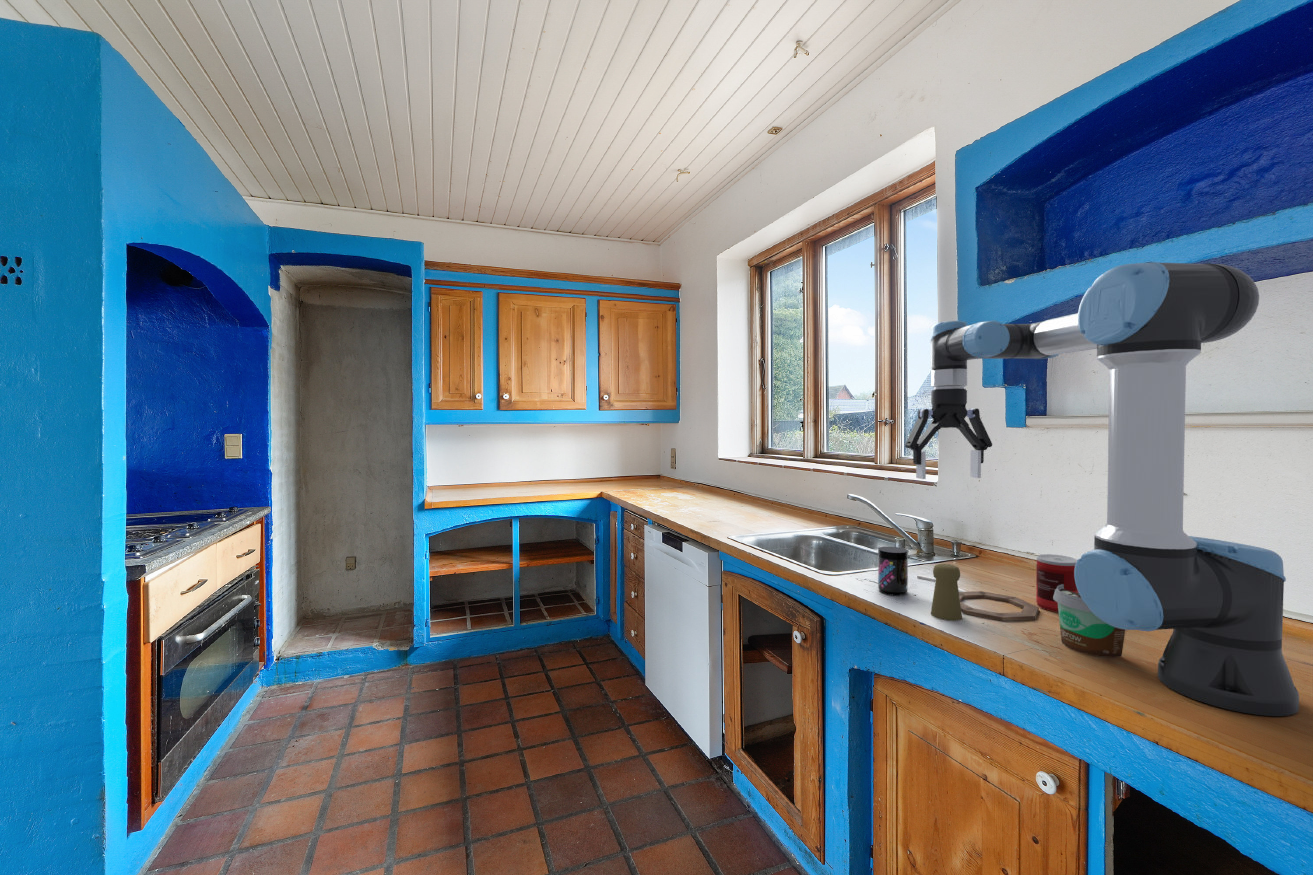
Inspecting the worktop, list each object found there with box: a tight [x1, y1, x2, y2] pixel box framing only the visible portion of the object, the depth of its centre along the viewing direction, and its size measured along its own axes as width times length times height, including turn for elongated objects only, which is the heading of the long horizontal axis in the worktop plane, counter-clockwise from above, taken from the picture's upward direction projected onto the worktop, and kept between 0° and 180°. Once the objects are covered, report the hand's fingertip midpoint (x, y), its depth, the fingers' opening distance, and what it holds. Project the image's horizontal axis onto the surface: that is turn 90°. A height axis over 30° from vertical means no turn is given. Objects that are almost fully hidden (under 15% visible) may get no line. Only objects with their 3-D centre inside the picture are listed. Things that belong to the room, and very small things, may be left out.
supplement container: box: [877, 545, 909, 596], centre depth 136 cm, size 7×7×10 cm
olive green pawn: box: [930, 563, 963, 622], centre depth 119 cm, size 6×6×11 cm
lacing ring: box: [959, 590, 1040, 622], centre depth 125 cm, size 17×17×1 cm
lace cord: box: [916, 574, 967, 592], centre depth 141 cm, size 15×4×1 cm, turn 5°
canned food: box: [1035, 553, 1079, 613], centre depth 124 cm, size 8×8×11 cm
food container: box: [1053, 584, 1126, 658], centre depth 102 cm, size 12×6×10 cm, turn 19°
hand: (948, 478), depth 133 cm, fingers open, 13 cm apart
